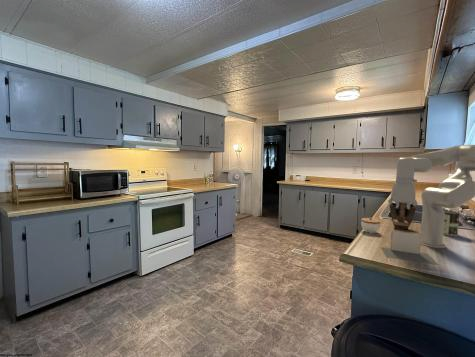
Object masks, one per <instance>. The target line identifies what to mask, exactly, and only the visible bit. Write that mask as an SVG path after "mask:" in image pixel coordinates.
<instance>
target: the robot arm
mask: <svg viewBox="0 0 475 357" xmlns="http://www.w3.org/2000/svg"><path fill="white" fill-rule="evenodd" d="M453 163H455V171H454V173H453V174H452V175H450V176H449V177H447V178H445V179H444V180H442V181H441V182H440V183H439V184H438V187H434V186H433V187H431V186H429V187H426V188H424V189H423V190H422V191H421V196H420V198H421V202H422V211H421V213H422V214H421V222H420V232H419V233H420V234H421V243H420V246H421V245H422V246H426V247H428V248H435V249H444V248H445V249H446V247H447V245H446V244H445V243H444V242H443V238H444V234H443V229H444V218H445V213H444V210H445V209H444V208H447V209H456V208H460V207H461V206H463V205H465V204H467V203H468V202H469V201H471V200H472V199H474V198H475V181H474V180H473V176H472V175H471V172H475V144H462V145H461V144H460V145H453V146H450V147H446V148H443V149H440V150H436V151H430V152H425V153H421V154H415V155H411V156H408V157H400V158H398V159H397V164H396V165H397V166H396V177H395V182H394V183H393V185H392V188H391V195H390V198H389V199H388V200H387V202H388V203H389V204H392V205H393V206H394V207H395V214H396V215H397V216H399V203H406V209H405V217H407V215H408V214H409V209H410V208H411V207H413V206H416V207H417V206H418V204H419V203H418V202H417V199H416V187H415V186H416V185H415V184H416V183H417V182H418V180H417V179H415V178H414V177H415V173H427V172H429V171H431V170H432V168H436V167H444V166H447V165H450V164H453Z"/></svg>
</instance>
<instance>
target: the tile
mask: <svg viewBox="0 0 475 357" xmlns="http://www.w3.org/2000/svg"><path fill="white" fill-rule="evenodd" d="M420 233H421V232H413V231H405V230H394V229H391V233H390V235H391V236H390V246H389V248H390V250H393V251H400V252H407V253H415V254H420V253H421V244H420V243H421V234H420Z"/></svg>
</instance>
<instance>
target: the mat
mask: <svg viewBox="0 0 475 357" xmlns="http://www.w3.org/2000/svg"><path fill="white" fill-rule="evenodd" d="M380 249H381V250H382V252H383V254H384V255H385V257H386V258H388V259H396V260H403V261H409V262H416V263H420V264H430V265H437V266H440V264H439V263H438V262H437V261H436V260H435V259H434V258H433V257H432V256H430V254H429V253H427V252H420V254H415V253H407V252H400V251H393V250H390V247H382V246H380Z"/></svg>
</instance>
